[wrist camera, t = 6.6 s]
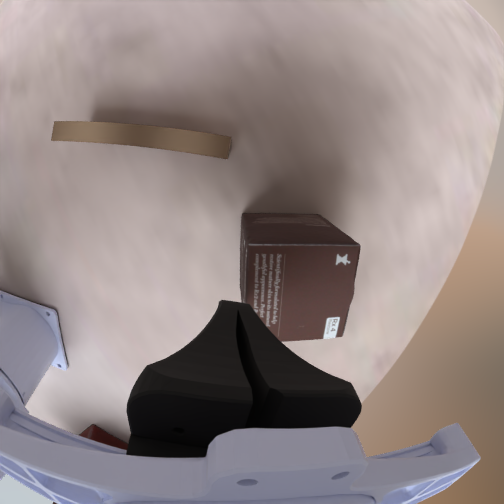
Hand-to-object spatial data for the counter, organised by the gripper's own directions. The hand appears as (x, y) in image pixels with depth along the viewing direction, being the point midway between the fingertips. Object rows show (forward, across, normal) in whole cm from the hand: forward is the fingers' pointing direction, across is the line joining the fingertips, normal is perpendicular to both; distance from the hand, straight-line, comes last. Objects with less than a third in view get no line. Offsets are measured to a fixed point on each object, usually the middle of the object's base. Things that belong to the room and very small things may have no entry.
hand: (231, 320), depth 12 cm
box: (+10, -4, -1) cm, 10 cm away
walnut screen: (+9, +7, -7) cm, 14 cm away
